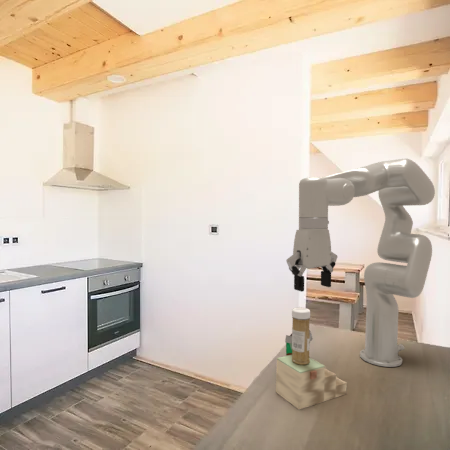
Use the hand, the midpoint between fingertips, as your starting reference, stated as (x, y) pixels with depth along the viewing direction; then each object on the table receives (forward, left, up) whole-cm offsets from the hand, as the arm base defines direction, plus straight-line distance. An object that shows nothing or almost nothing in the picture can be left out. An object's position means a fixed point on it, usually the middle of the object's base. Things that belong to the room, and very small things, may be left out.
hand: (312, 288), depth 91 cm
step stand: (+2, +3, -27) cm, 27 cm away
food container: (-8, -12, -27) cm, 31 cm away
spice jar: (+6, +3, -18) cm, 19 cm away
